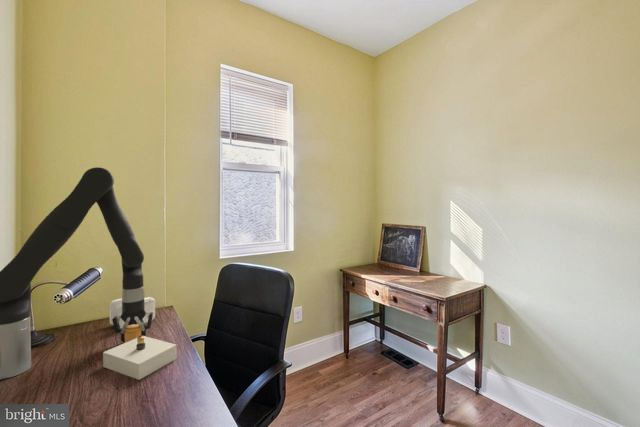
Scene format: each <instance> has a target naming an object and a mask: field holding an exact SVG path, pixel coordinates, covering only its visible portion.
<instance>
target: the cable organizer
mask: <svg viewBox="0 0 640 427" xmlns="http://www.w3.org/2000/svg"><path fill="white" fill-rule="evenodd" d="M108 306H109V307H108V309H109V311H108V312H109V324H110V325H112V326H114V325H113V321H112V319H113V318H114V317H115V316H121V315H122V297H121V298H117V299H113V300H111V302H109V305H108ZM144 310H145V312H146V313H151V312H153V318H152V321H153V320H154V319H155V317H156V300H155V298H153V297H151V296H148V297H144ZM143 321H144V324H145V325H146V324H148V319H147V316H144V318H143ZM124 324H125V322H124V321H123V320H122V319H120V321H119V325H120V328H123V326H124ZM132 325H138V324H132ZM128 326H131V325H128ZM128 326H127V327H128Z"/></svg>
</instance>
